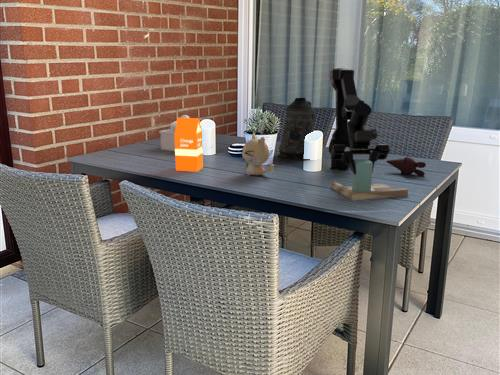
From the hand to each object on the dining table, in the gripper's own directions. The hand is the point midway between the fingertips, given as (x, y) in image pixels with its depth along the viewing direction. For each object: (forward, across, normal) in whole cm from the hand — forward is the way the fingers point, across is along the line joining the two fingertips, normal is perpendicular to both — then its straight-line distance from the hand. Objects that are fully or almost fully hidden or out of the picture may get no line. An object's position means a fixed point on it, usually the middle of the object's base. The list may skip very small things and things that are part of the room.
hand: (363, 173), depth 162 cm
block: (+3, 0, +5) cm, 6 cm away
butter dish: (-49, -64, +59) cm, 100 cm away
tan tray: (+4, +2, +5) cm, 7 cm away
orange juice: (-20, -59, +30) cm, 70 cm away
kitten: (-14, -34, +23) cm, 43 cm away
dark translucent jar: (-37, -13, +47) cm, 62 cm away
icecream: (-13, +23, +23) cm, 35 cm away
